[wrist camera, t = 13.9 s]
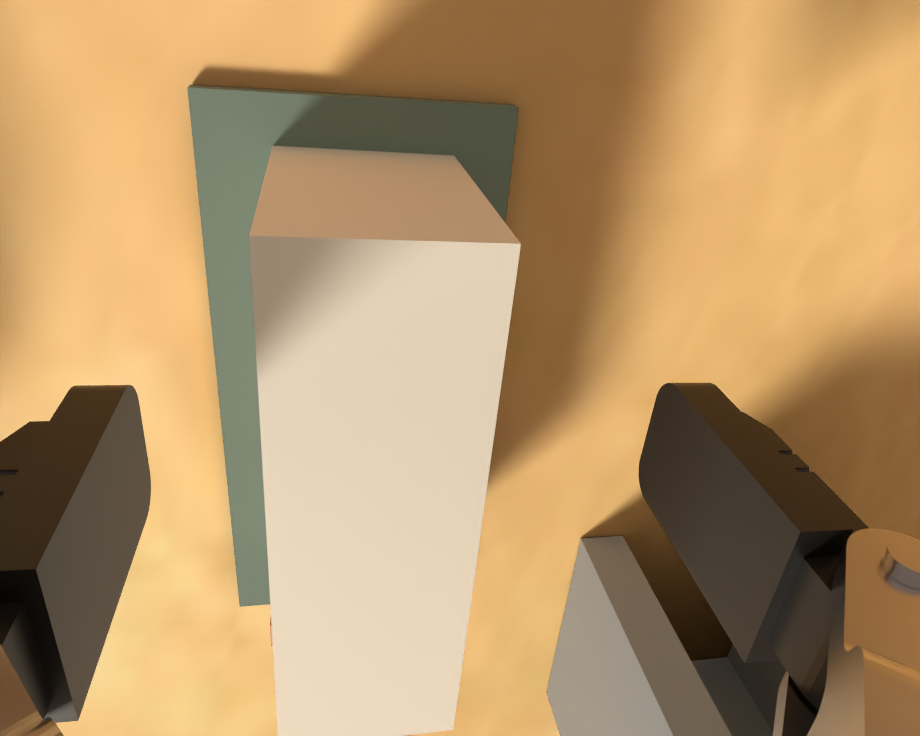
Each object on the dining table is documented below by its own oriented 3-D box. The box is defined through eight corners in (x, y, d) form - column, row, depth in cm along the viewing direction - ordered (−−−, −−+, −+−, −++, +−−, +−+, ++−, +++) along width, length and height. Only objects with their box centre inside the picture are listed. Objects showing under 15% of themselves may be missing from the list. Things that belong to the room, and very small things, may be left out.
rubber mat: (514, 104, 16) (518, 107, 15) (459, 579, 23) (461, 588, 23) (190, 84, 14) (187, 87, 14) (240, 596, 22) (239, 606, 21)
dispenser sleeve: (823, 509, 25) (1054, 754, 17) (753, 669, 29) (913, 924, 21) (583, 524, 23) (720, 805, 15) (546, 692, 27) (638, 980, 19)
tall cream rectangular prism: (456, 155, 16) (524, 244, 11) (422, 549, 21) (455, 729, 16) (270, 145, 15) (245, 235, 10) (286, 557, 21) (276, 750, 16)
